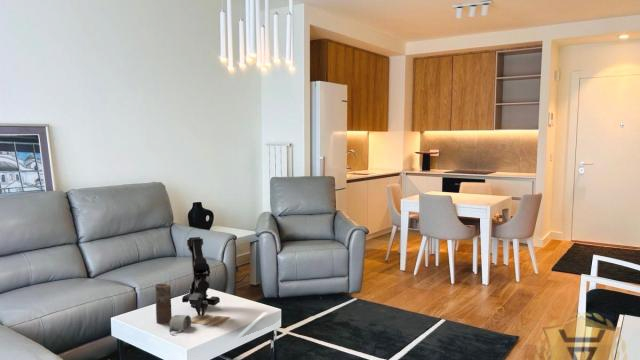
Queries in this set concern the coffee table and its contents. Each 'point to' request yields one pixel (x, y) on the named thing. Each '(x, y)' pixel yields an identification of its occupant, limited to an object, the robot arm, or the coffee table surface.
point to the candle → (163, 303)
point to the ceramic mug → (179, 323)
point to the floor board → (217, 321)
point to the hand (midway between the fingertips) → (201, 315)
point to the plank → (201, 318)
